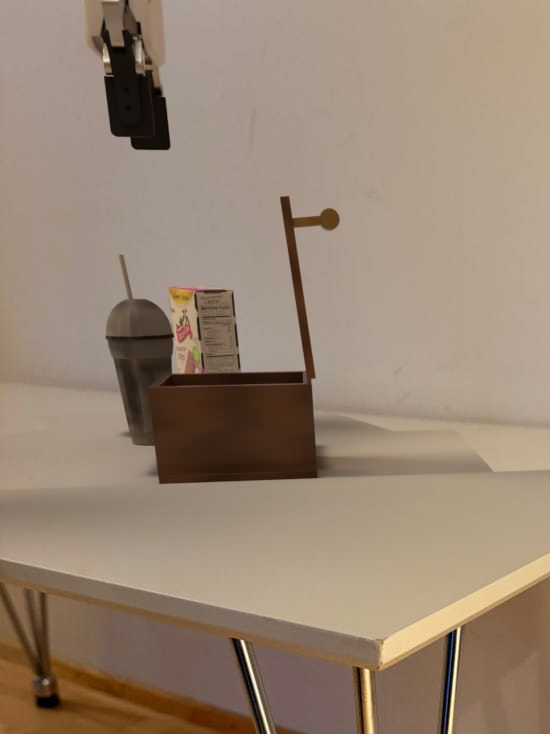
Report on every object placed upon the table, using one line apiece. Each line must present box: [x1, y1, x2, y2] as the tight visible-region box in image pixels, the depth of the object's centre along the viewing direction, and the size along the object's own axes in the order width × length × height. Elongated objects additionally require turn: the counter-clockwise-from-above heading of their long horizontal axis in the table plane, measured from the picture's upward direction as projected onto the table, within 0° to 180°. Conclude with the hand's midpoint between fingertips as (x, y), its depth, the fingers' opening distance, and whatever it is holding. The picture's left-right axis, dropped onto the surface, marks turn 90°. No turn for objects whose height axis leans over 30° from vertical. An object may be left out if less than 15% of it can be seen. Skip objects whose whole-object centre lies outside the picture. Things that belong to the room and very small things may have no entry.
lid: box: [279, 195, 341, 380], centre depth 93 cm, size 15×12×5 cm
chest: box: [148, 370, 319, 485], centre depth 96 cm, size 15×12×9 cm
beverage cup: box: [105, 254, 174, 446], centre depth 109 cm, size 7×7×20 cm
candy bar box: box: [167, 285, 242, 373], centre depth 120 cm, size 11×5×16 cm, turn 32°
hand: (143, 143), depth 79 cm, fingers open, 9 cm apart
